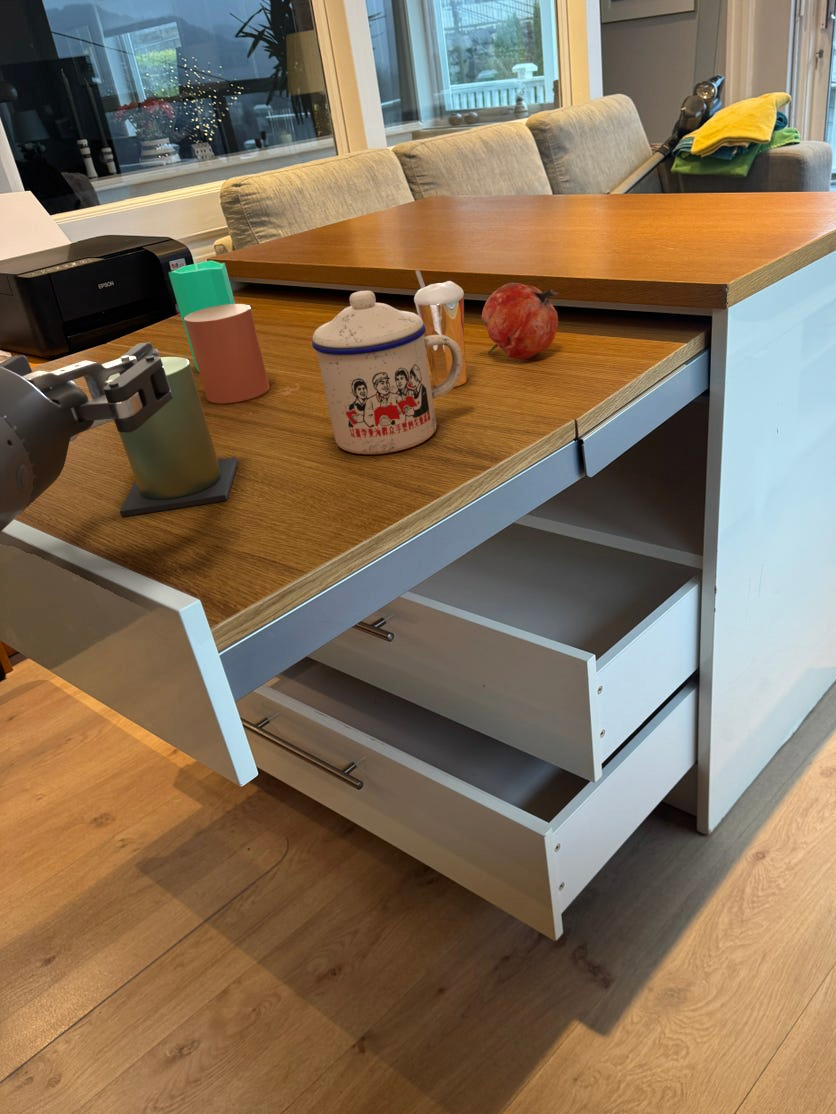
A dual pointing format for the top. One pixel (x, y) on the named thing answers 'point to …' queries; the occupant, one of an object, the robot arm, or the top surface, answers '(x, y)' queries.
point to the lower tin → (227, 353)
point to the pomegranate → (520, 320)
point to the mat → (210, 495)
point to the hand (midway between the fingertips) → (87, 364)
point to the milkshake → (442, 325)
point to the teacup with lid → (380, 376)
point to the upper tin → (173, 441)
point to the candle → (200, 289)
